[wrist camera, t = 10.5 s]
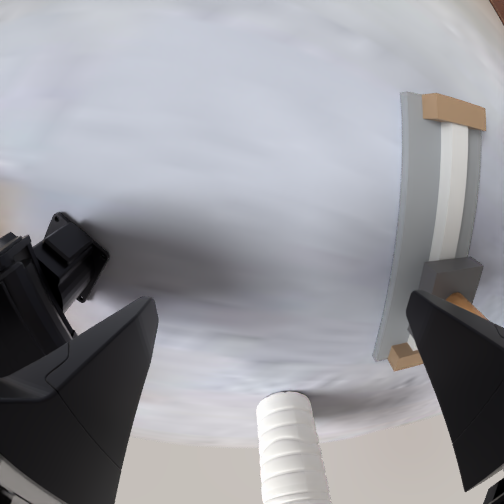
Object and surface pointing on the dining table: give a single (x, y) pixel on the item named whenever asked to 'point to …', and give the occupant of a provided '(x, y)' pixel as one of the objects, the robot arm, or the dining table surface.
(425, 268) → the carriage
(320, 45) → the dining table surface
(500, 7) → the letter holder
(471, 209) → the rail
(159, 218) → the dining table surface
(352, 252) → the dining table surface
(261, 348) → the dining table surface
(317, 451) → the water bottle
